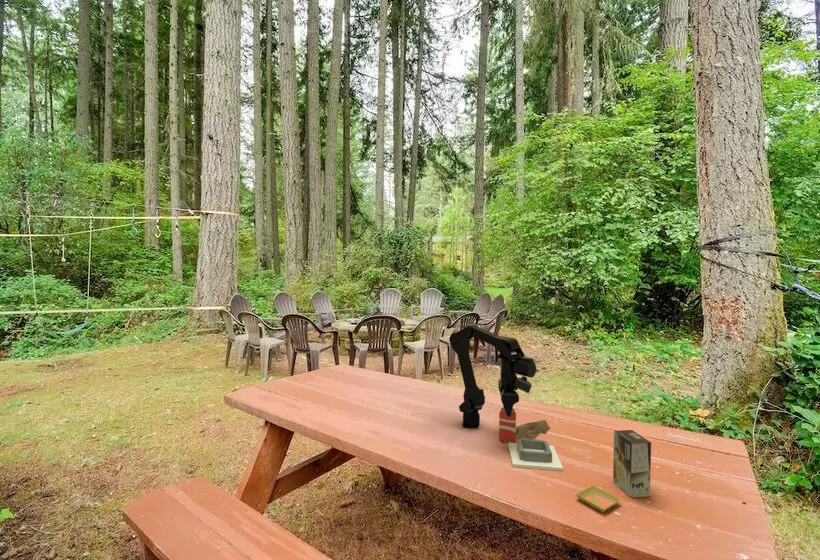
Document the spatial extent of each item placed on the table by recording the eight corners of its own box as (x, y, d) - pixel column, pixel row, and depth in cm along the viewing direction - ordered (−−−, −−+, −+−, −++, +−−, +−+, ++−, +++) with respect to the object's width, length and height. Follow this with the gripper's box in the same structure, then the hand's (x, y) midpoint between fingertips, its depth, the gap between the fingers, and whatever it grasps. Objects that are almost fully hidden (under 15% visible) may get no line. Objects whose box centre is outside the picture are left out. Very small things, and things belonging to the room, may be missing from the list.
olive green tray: (592, 491, 118) (592, 484, 118) (621, 506, 110) (621, 499, 110) (574, 500, 113) (575, 493, 113) (603, 517, 106) (604, 509, 106)
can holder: (512, 466, 131) (512, 455, 131) (508, 445, 147) (508, 434, 146) (562, 471, 128) (563, 459, 128) (553, 448, 144) (553, 437, 144)
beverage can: (516, 438, 153) (516, 407, 152) (514, 445, 147) (515, 413, 146) (500, 435, 155) (500, 405, 154) (498, 442, 149) (498, 411, 148)
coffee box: (651, 496, 114) (653, 442, 114) (630, 498, 114) (632, 443, 113) (631, 479, 123) (632, 429, 123) (611, 480, 123) (612, 430, 122)
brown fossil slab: (527, 444, 148) (527, 441, 148) (502, 435, 156) (502, 432, 156) (560, 425, 165) (560, 423, 165) (536, 418, 173) (536, 415, 173)
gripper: (534, 379, 139) (533, 423, 140) (526, 366, 157) (526, 404, 158) (501, 378, 141) (501, 421, 141) (498, 364, 159) (497, 402, 160)
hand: (507, 411), depth 150 cm, fingers open, 9 cm apart
